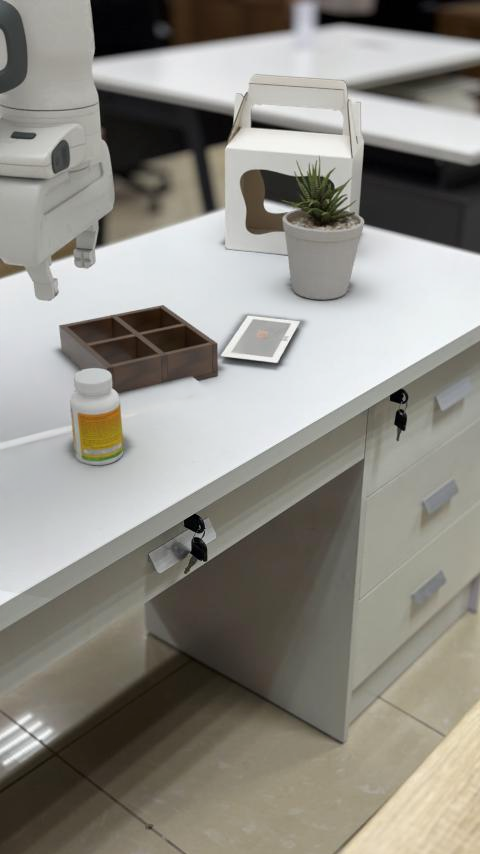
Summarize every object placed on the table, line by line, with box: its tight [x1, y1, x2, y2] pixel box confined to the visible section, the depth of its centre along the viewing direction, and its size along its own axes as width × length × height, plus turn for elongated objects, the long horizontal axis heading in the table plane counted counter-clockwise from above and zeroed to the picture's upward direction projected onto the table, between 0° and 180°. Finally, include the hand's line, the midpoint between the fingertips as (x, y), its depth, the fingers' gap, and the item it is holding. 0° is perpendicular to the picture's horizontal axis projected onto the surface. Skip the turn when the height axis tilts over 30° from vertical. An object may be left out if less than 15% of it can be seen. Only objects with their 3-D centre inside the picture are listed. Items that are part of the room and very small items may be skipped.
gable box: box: [224, 73, 365, 256], centre depth 164 cm, size 22×13×28 cm, turn 77°
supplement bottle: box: [69, 368, 125, 466], centre depth 104 cm, size 5×5×10 cm
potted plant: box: [280, 157, 365, 301], centre depth 147 cm, size 13×14×20 cm
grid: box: [58, 304, 219, 394], centre depth 125 cm, size 15×15×5 cm
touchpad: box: [220, 315, 301, 364], centre depth 133 cm, size 8×15×2 cm, turn 167°
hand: (67, 281), depth 94 cm, fingers open, 8 cm apart
